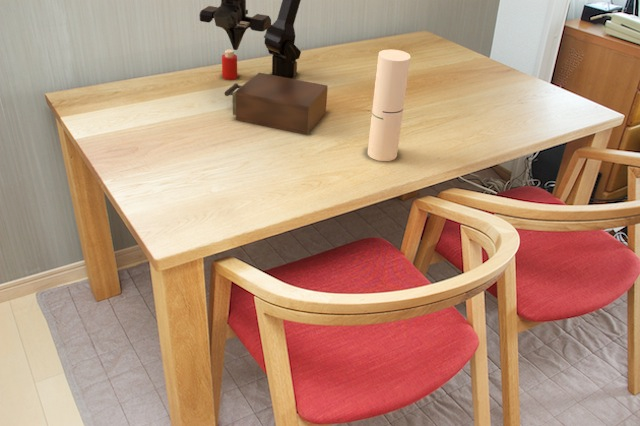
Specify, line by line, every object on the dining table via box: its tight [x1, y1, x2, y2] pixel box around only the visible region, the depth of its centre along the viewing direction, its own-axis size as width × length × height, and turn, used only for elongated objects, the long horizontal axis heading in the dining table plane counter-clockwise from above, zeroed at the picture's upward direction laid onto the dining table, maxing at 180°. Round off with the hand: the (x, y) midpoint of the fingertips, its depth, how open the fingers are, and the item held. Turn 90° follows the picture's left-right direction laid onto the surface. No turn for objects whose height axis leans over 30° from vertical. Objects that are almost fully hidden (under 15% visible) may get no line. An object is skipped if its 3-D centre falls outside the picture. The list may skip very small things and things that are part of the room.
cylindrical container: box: [367, 49, 411, 162], centre depth 153 cm, size 7×7×25 cm
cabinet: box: [235, 72, 328, 136], centre depth 172 cm, size 20×15×8 cm
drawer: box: [223, 75, 255, 116], centre depth 173 cm, size 23×14×6 cm, turn 71°
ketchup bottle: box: [221, 48, 238, 81], centre depth 192 cm, size 4×4×8 cm
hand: (235, 49), depth 180 cm, fingers closed
